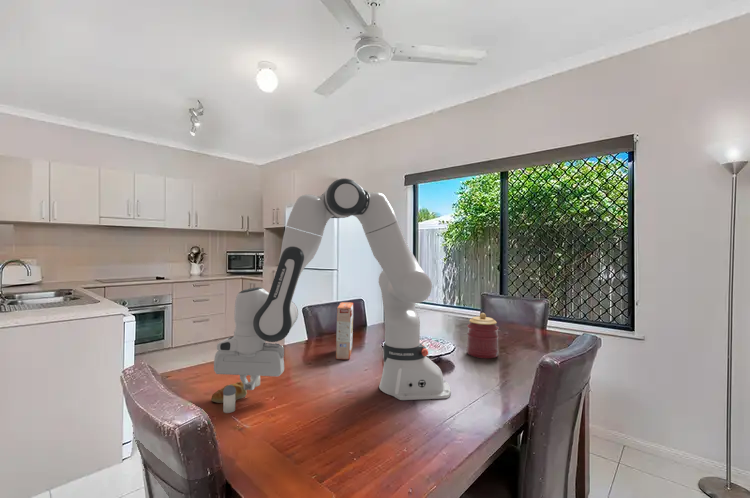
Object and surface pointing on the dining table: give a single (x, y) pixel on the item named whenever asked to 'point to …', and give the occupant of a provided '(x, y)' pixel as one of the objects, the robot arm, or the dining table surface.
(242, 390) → the pastry
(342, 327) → the cracker box
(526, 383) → the dining table surface
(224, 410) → the posts
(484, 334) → the canister
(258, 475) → the dining table surface
